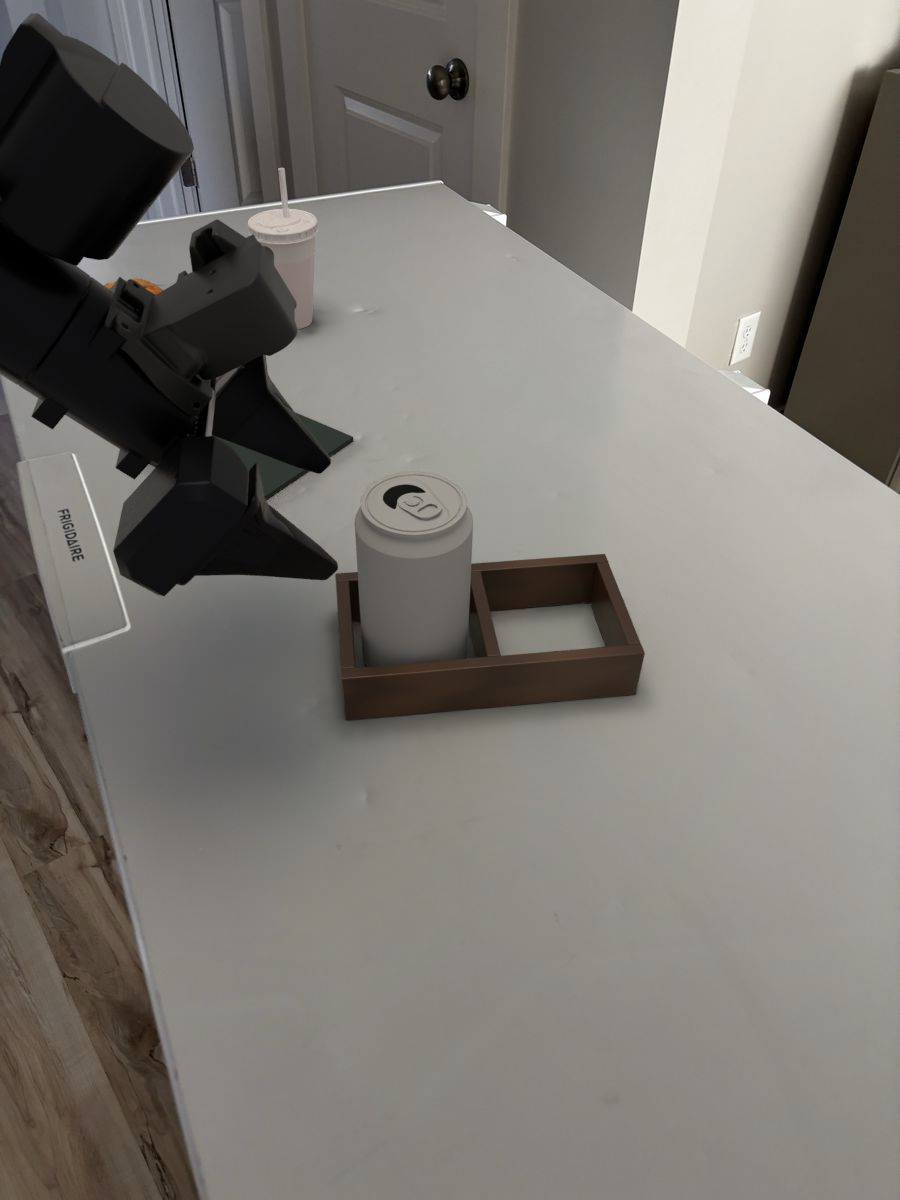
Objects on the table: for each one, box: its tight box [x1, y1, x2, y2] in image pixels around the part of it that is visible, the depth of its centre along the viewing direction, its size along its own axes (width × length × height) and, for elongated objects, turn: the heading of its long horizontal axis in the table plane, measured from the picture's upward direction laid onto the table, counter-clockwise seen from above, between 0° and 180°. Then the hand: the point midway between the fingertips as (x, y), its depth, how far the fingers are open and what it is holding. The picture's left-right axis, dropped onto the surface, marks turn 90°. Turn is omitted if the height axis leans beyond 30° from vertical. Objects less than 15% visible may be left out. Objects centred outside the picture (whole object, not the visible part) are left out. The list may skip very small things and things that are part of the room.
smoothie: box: [247, 167, 320, 330], centre depth 86 cm, size 6×6×14 cm
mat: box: [149, 411, 354, 501], centre depth 74 cm, size 12×12×1 cm
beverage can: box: [354, 470, 474, 667], centre depth 53 cm, size 6×6×12 cm
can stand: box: [334, 553, 646, 721], centre depth 56 cm, size 17×9×4 cm, turn 97°
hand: (329, 516), depth 49 cm, fingers open, 9 cm apart
